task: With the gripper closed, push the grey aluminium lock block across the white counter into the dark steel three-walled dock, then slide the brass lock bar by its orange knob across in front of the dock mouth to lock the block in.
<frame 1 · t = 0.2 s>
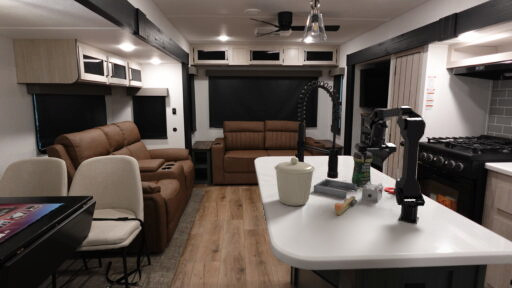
hand: (372, 163, 143), 15 cm above the kitchen island, tool pointing down, fingers open, 9 cm apart
lock block: (371, 198, 136), on the kitchen island
lock bar: (346, 202, 124), point 2 cm above the kitchen island, slide at 0.0 cm
coffee jar: (361, 184, 158), on the kitchen island
tow hook: (393, 191, 147), on the kitchen island
canister: (293, 202, 132), on the kitchen island
dock: (335, 191, 147), on the kitchen island
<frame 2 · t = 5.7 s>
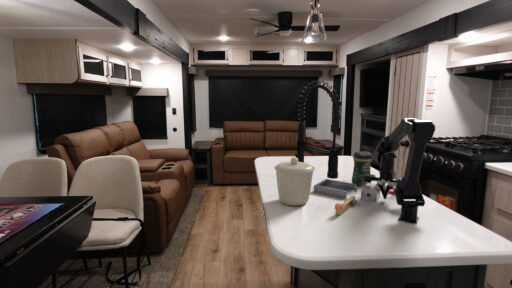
hand: (384, 198, 133), 1 cm above the kitchen island, tool pointing down, fingers closed
lock block: (370, 198, 137), on the kitchen island, touching gripper
everything else where it was.
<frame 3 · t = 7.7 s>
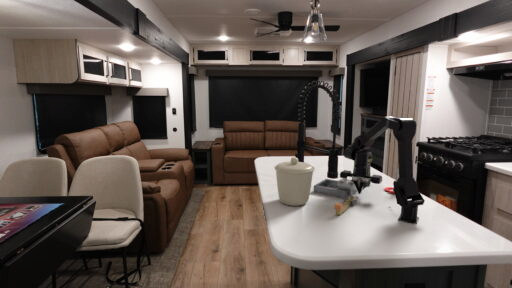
hand: (359, 193, 139), 1 cm above the kitchen island, tool pointing down, fingers closed
lock block: (346, 193, 143), on the kitchen island, touching gripper
everything else where it was.
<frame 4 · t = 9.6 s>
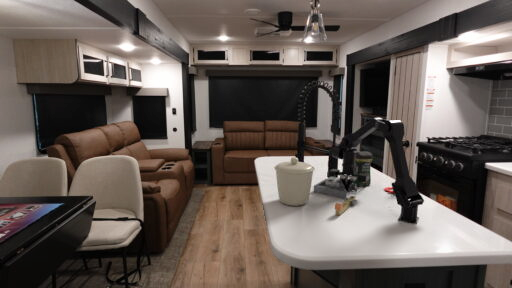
hand: (347, 191, 143), 1 cm above the kitchen island, tool pointing down, fingers closed
lock block: (335, 191, 147), on the kitchen island, touching gripper
everything else where it was.
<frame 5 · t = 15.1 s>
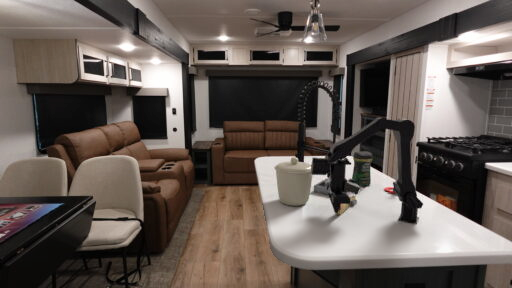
hand: (336, 212, 115), 2 cm above the kitchen island, tool pointing down, fingers closed
lock block: (334, 191, 147), on the kitchen island
lock bar: (346, 202, 124), point 2 cm above the kitchen island, slide at 0.2 cm, touching gripper
everything else where it was.
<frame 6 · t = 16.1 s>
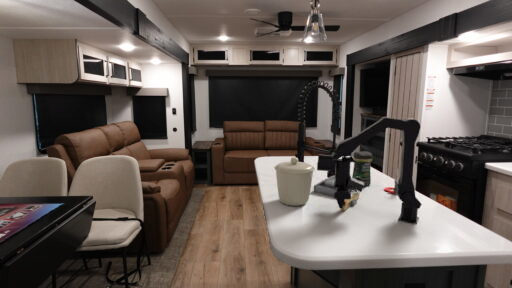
hand: (340, 208, 119), 2 cm above the kitchen island, tool pointing down, fingers closed
lock bar: (350, 199, 129), point 2 cm above the kitchen island, slide at 5.8 cm, touching gripper
everything else where it was.
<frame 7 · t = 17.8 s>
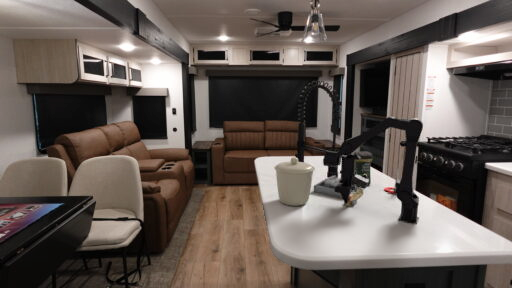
hand: (346, 203, 124), 2 cm above the kitchen island, tool pointing down, fingers closed
lock bar: (355, 195, 134), point 2 cm above the kitchen island, slide at 12.3 cm, touching gripper
everything else where it was.
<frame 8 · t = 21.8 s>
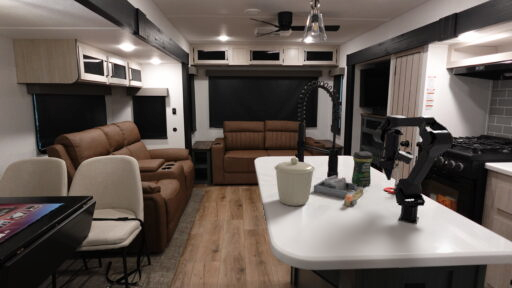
hand: (389, 180, 125), 12 cm above the kitchen island, tool pointing down, fingers closed
lock bar: (355, 195, 134), point 2 cm above the kitchen island, slide at 12.3 cm
everything else where it was.
at the end: lock block inside the target area (0.8 cm from its centre), on the kitchen island; lock block tilted 0°; lock bar slide at 12.3 cm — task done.
